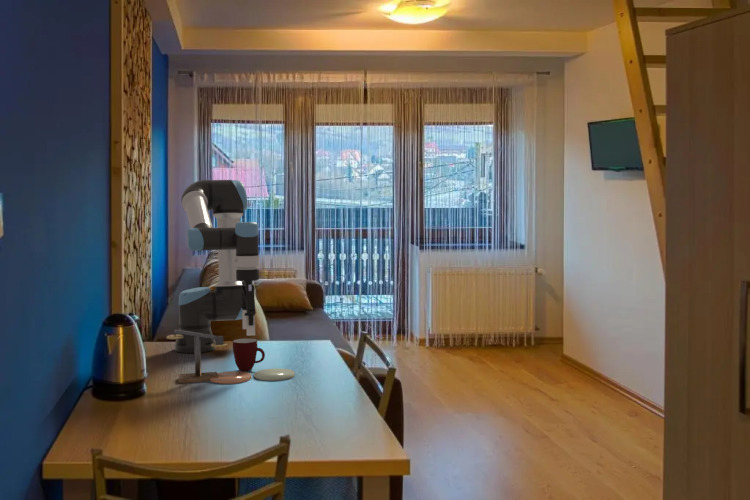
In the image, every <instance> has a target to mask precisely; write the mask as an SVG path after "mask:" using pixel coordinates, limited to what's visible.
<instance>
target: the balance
mask: <svg viewBox="0 0 750 500" xmlns="http://www.w3.org/2000/svg"><path fill="white" fill-rule="evenodd" d="M178 333H179V334H186V335H192V336H194V344H195V353H194V372H193V373H180V374H178V375H177V376H178V384H189V383H201V382H202V381H205V382H211V381H210V378H218V374H217V373H218V372H217V371H208V372H202V366H201V365H202V363H201V362H202V361H201V359H202V356H201V353H202V352H200V337H205V338H212V339H214V340H215V343H212V344H211V346H212V347H216V348H225V347H227V346H228V343H227V342H224V335H215V334H213V335H209V334H202V333H196V332H189V331H183V330H179V329H174V331H173V334H169V335H167V336H166V340H176V339H181V338H183V335H178ZM202 383H203V382H202Z"/></svg>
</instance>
